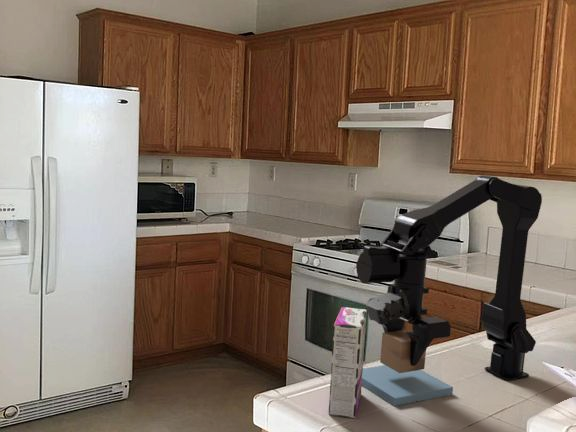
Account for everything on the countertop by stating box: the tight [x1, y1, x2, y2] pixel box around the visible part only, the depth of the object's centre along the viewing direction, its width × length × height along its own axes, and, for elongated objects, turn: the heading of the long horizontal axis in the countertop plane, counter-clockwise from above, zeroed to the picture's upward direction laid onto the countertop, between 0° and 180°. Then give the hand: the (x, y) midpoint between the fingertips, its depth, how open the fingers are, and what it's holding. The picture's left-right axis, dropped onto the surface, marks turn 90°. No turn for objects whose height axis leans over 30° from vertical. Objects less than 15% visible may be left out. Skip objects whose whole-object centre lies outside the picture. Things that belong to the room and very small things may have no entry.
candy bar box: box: [328, 306, 367, 419], centre depth 113 cm, size 11×5×16 cm, turn 168°
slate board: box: [361, 364, 454, 407], centre depth 124 cm, size 14×14×2 cm
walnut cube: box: [379, 329, 427, 373], centre depth 123 cm, size 6×6×6 cm
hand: (402, 359), depth 123 cm, fingers closed on walnut cube, 6 cm apart
